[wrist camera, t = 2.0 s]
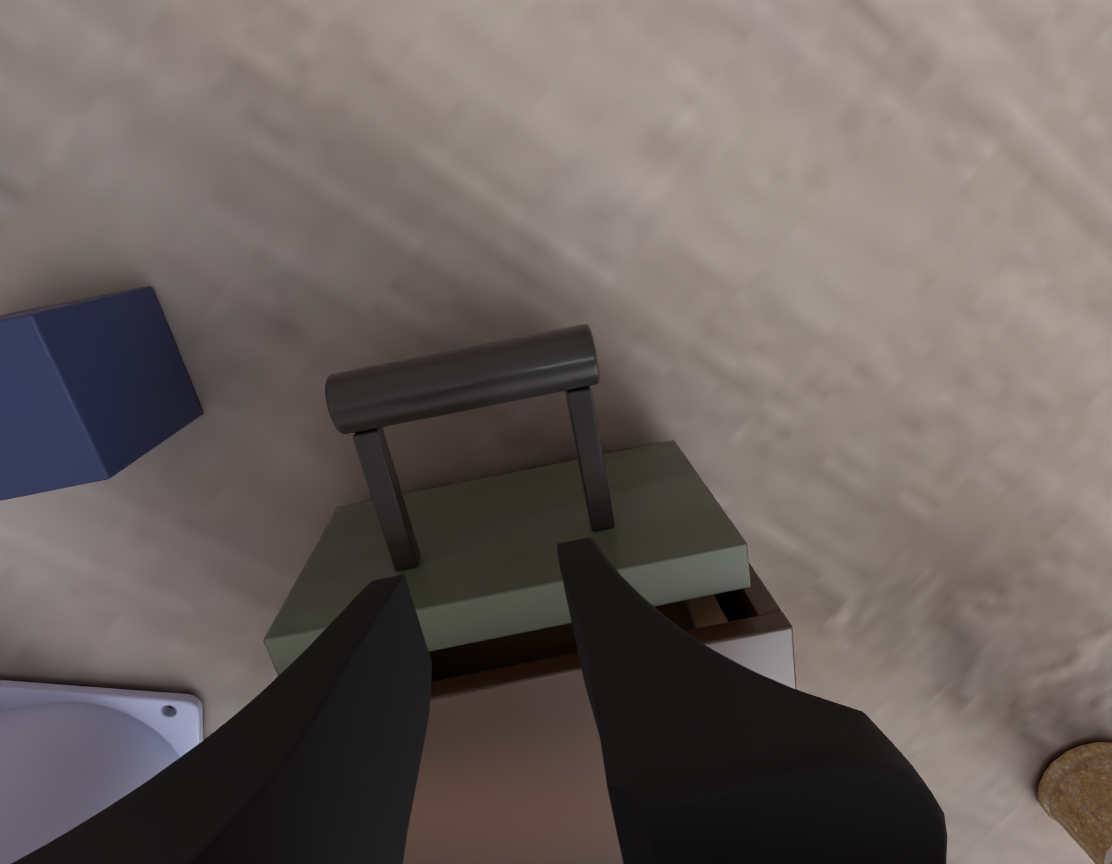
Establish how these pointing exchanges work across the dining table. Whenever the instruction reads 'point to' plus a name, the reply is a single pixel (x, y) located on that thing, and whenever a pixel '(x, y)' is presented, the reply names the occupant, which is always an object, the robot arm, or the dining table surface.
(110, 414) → the box
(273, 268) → the dining table surface
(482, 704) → the cabinet
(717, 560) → the drawer
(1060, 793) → the sprinkles bottle
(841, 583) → the dining table surface
